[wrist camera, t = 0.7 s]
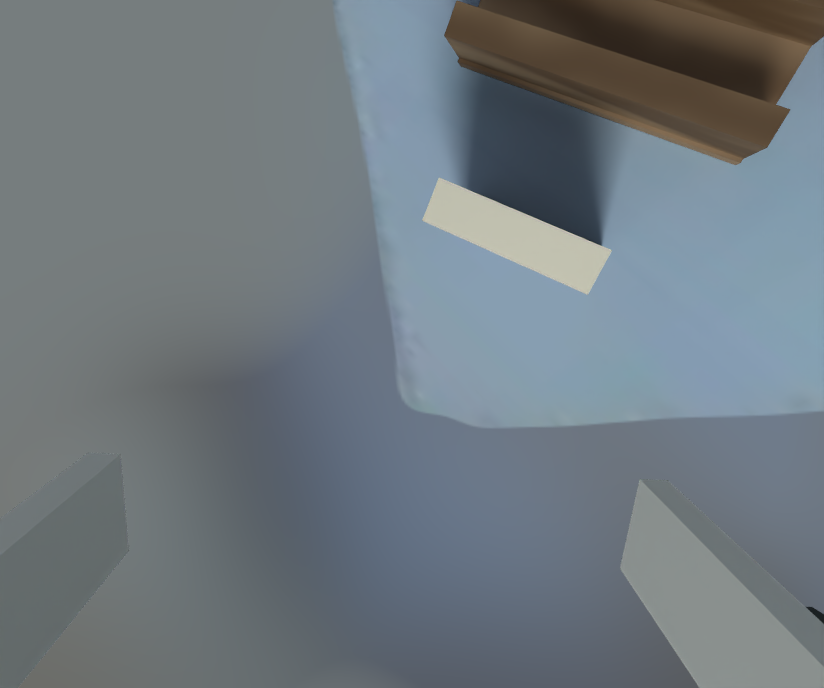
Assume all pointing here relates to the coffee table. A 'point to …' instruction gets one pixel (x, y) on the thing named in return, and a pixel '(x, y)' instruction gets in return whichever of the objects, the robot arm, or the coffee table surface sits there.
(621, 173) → the coffee table surface
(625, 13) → the rack
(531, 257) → the cream rectangular block
